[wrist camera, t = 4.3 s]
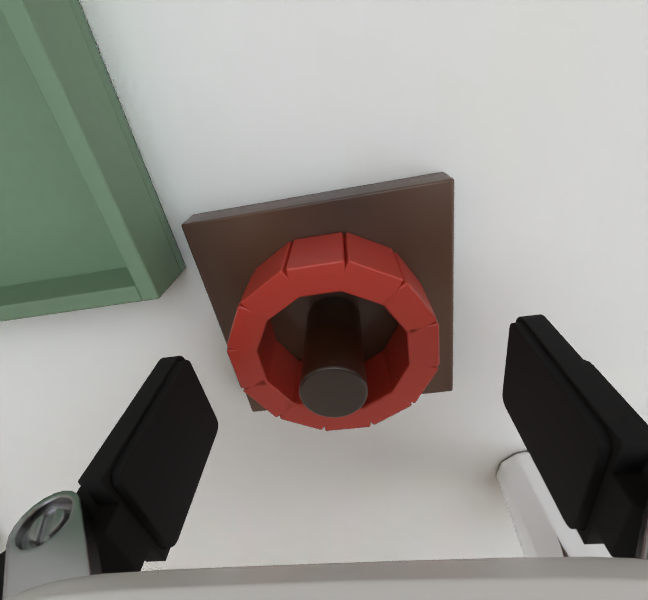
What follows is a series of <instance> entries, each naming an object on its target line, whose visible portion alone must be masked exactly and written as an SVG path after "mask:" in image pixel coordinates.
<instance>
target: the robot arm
mask: <svg viewBox="0 0 648 600" xmlns="http://www.w3.org/2000/svg"><path fill="white" fill-rule="evenodd" d="M503 401H504V405H505V407H506V409H507V411H508V413H509V415H510V417H511V419H512V421H513V423H514V425H515V426H516V428H517V430H518V432H519V434H520V436H521V438H522V440H523V442H524V444H525V446H526V448H527V450H528V452H529V454H530V456H531V458H532V459H533V461H534V463H535V465H536V467H537V469H538V471H539V473H540V475H541V477H542V479H543V481H544V483H545V485H546V487H547V489H548V490H549V492H550V494H551V496H552V498H553V500H554V502H555V504H556V506H557V508H558V510H559V512H560V514H561V516H562V518H563V520H564V521H565V523H566V525H567V526H568V527H569V528H570V529H576V530H577V532H578V534H579V535H580V537H581V539H582V541H583V543H584V545H586V544H604V545H605V547H606V548H607V550H608V552H609V554H610V555H611V556H612V557H614V558H612V557H525V558H483V559H450V560H417V561H385V562H356V563H328V564H300V565H273V566H248V567H223V568H199V569H175V570H155V571H141V568H142V566H143V563H144V561H146V562H149V561H166V558H167V556H168V553H169V550H170V548H171V547H173V546H174V545H175V544H176V543H177V540H178V538H179V535H180V533H181V530H182V527H183V524H184V522H185V519H186V516H187V513H188V511H189V508H190V505H191V502H192V500H193V497H194V494H195V491H196V489H197V486H198V483H199V480H200V478H201V475H202V472H203V469H204V467H205V464H206V461H207V458H208V456H209V453H210V450H211V447H212V445H213V442H214V439H215V436H216V434H217V430H218V421H217V418H216V416H215V414H214V412H213V410H212V407H211V405H210V403H209V401H208V399H207V397H206V395H205V392H204V390H203V388H202V386H201V384H200V382H199V380H198V377H197V375H196V373H195V371H194V369H193V367H192V365H191V363H190V361H188V360H185V359H184V358H183V357H182V356H175V357H166V358H162V359H160V360H159V362H158V363H157V365H156V366H155V368H154V369H153V371H152V372H151V374H150V375H149V376H148V378H147V379H146V381H145V382H144V384H143V385H142V387H141V388H140V390H139V391H138V393H137V394H136V396H135V397H134V399H133V400H132V402H131V403H130V405H129V406H128V408H127V409H126V411H125V412H124V414H123V415H122V417H121V418H120V420H119V421H118V423H117V424H116V426H115V427H114V429H113V430H112V431H111V433H110V434H109V436H108V437H107V439H106V440H105V442H104V443H103V445H102V446H101V448H100V449H99V451H98V452H97V454H96V455H95V457H94V458H93V460H92V461H91V463H90V464H89V466H88V467H87V469H86V470H85V472H84V473H83V475H82V476H81V478H80V479H79V481H78V483H79V484H80V485H81V487H80V488H79V490H78V491H77V493H75V492H73V491H62V492H58V493H54V494H52V495H50V496H48V497H46V498H44V499H43V500H41V501H40V502H38V503H37V504H36V505H34V506H33V507H32V508H31V509H30V510H28V511H27V512H26V513H25V514H24V515H23V516H22V517H21V519H20V520H19V521H18V522H17V523H16V525H15V526H14V528H13V530H12V531H11V533H10V535H9V537H8V541H7V545H6V550H5V551H4V552H3V553H1V554H0V600H648V425H647V423H646V422H645V421H644V420H643V419H642V418H641V417H640V416H639V415H638V414H637V412H636V411H635V410H634V409H633V408H632V407H631V406H630V405H629V404H628V403H627V402H626V400H625V399H624V398H623V397H622V396H621V395H620V394H619V393H618V392H617V391H616V389H615V388H614V387H613V386H612V385H611V384H610V383H609V382H608V381H607V380H606V379H605V377H604V376H603V375H602V374H601V373H600V372H599V371H598V370H597V369H596V368H595V366H594V365H592V364H591V363H590V362H589V361H586V360H583V359H582V358H581V356H580V355H579V354H578V353H577V352H576V351H575V350H574V349H573V348H572V346H571V345H570V344H569V343H568V342H567V341H566V340H565V339H564V337H563V336H562V335H561V334H560V333H559V332H558V331H557V330H556V329H555V327H554V326H553V325H552V324H551V323H550V322H549V321H548V320H547V318H546V317H545V316H543V315H532V316H523V317H518V318H517V320H516V323H511V325H510V328H509V338H508V347H507V357H506V366H505V375H504V385H503Z"/></svg>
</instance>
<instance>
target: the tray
mask: <svg viewBox="0 0 648 600" xmlns="http://www.w3.org/2000/svg"><path fill="white" fill-rule="evenodd" d="M184 269H185V264H184V262H183V259H182V257H181V255H180V252H179V250H178V247H177V245H176V242H175V240H174V237H173V235H172V232H171V230H170V227H169V225H168V222H167V220H166V217H165V215H164V212H163V210H162V207H161V205H160V202H159V200H158V197H157V195H156V192H155V190H154V187H153V185H152V182H151V180H150V177H149V175H148V172H147V170H146V167H145V165H144V162H143V160H142V158H141V155H140V153H139V150H138V148H137V145H136V143H135V140H134V138H133V135H132V133H131V130H130V128H129V125H128V123H127V120H126V118H125V115H124V113H123V110H122V108H121V105H120V103H119V100H118V98H117V95H116V93H115V90H114V88H113V85H112V83H111V80H110V78H109V75H108V73H107V70H106V68H105V66H104V63H103V61H102V58H101V56H100V53H99V51H98V48H97V46H96V43H95V41H94V38H93V36H92V33H91V31H90V28H89V26H88V23H87V21H86V18H85V16H84V13H83V11H82V8H81V6H80V3H79V1H78V0H0V321H7V320H14V319H21V318H28V317H34V316H41V315H48V314H55V313H62V312H69V311H76V310H82V309H89V308H96V307H103V306H110V305H117V304H124V303H131V302H137V301H142V300H144V301H145V300H152V299H158V298H160V297H161V296H162V294H163V293H164V292H165V291H166V290H167V289H168V287H169V286H170V285H171V284H172V283H173V282H174V281H175V279H176V278H177V277H178V276H179V275H180V274H181V272H182V271H183V270H184Z"/></svg>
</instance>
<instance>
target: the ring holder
mask: <svg viewBox="0 0 648 600" xmlns="http://www.w3.org/2000/svg"><path fill="white" fill-rule="evenodd" d="M182 228H183V231H184V234H185V236H186V239H187V241H188V244H189V247H190V249H191V252H192V255H193V257H194V260H195V262H196V265H197V268H198V270H199V273H200V275H201V278H202V281H203V283H204V286H205V288H206V291H207V294H208V296H209V299H210V301H211V304H212V307H213V309H214V312H215V314H216V317H217V320H218V322H219V325H220V327H221V330H222V333H223V335H224V338H225V340H226V343H227V342H228V339H229V335H230V332H231V328H232V325H233V321H234V318H235V314H236V311H237V307H238V305H239V303H240V301H241V298H242V296H243V294H244V292H245V290H246V287H247V285H248V283H249V281H250V279H251V276H252V274H253V273H254V272H255V270H256V268H257V267H259V266H260V265H261V264H262V263H263V262H265V261H266V260H267V259H268V258H270V257H271V256H272V255H273V254H274V253H276V252H277V251H278V250H279V249H281V248H282V247H283V246H284V245H285V244H287V243H288V242H291V243H292V244H293V241H294V240H295V239H301V238H307V237H313V236H320V235H326V234H332V233H339V232H341V233H343V237H344V236H345V234H346V233H347V232H348V233H351V234H353V235H356V236H359V237H362V238H364V239H367V240H370V241H373V242H375V243H378V244H381V245H384V246H386V247H389V248H391V249H392V251H393V253H394V252H396V253H397V254H398V255H399V256H400V258H401V259H402V260H403V261H404V263H405V264H406V265H407V267H408V268H409V269H410V270H411V272H412V273H413V274H414V275H415V277H416V278H417V279H418V281H419V282H420V283H421V285H422V287H423V289H424V292H425V294H426V296H427V298H428V300H429V303H430V305H431V307H432V309H433V311H434V314H435V316H436V319H437V321H438V324H439V356H440V363H439V365H438V366H437V367H438V371H437V372H436V373H435V375H434V376H433V378H432V379H431V381H430V382H429V384H428V385H427V386H426V388H425V389H424V391H423V392H422V394H426V393H436V392H445V391H452V389H453V252H454V179H453V178H451V177H450V176H449V175H447V174H446V173H444V172H440V173H434V174H428V175H423V176H417V177H411V178H405V179H399V180H393V181H388V182H382V183H376V184H370V185H364V186H358V187H352V188H347V189H341V190H335V191H329V192H323V193H317V194H312V195H306V196H300V197H294V198H288V199H282V200H276V201H271V202H265V203H259V204H253V205H247V206H241V207H236V208H230V209H224V210H218V211H212V212H206V213H200V214H195V215H193V216H191V217H190V218H189V219H188V220H187V221H185V222H184V223H183V224H182ZM270 319H271V323H272V326H273V330H274V333H275V336H276V340H277V341H278V342H279V343H280V344H281V345H283V346H284V347H285V348H286V349H287V350H288V351H289V352H290V353H291V354H292V355H293V356H295V357H296V358H297V359H298V360H299V361H302V368H301V376H300V384H299V396H300V398H301V401H302V402H303V404H304V405H305V407H307V408H308V409H309V410H310V411H312V412H313V413H315V414H317V415H320V416H324V417H331V418H336V417H344V416H347V415H350V414H352V413H354V412H356V411H357V410H359V409H360V408H361V407H362V406H363V404H364V403H365V401H366V399H367V396H368V385H367V376H366V367H365V361H366V360H368V359H370V358H371V357H373V356H375V355H376V354H378V353H380V352H381V351H383V350H384V349H385V347H386V345H387V344H388V342H389V340H390V338H391V337H392V335H393V333H394V331H395V330H396V328H397V326H398V322H397V321H396V319H395V318H394V317H393V316H392V315H391V314H390V313H389V311H388V310H387V309H386V308H385V307H384V306H383V305H381V304H378V303H375V302H372V301H369V300H366V299H363V298H360V297H357V296H354V295H351V294H348V293H345V292H342V291H339V292H332V293H325V294H318V295H310V296H303V297H299V298H298V299H296V300H295V301H294V302H292V303H291V304H289V305H288V306H287V307H285V308H284V309H283V310H281V311H280V312H279V313H277V314H276V315H275V316H273V317H272V318H270ZM246 395H247V398H248V400H249V403H250V406H251V408H252V411H253V412H255V411H265V410H266V409H265V408H264V407H263V406H261V405H260V404H259V403H258V402H256V401H255V400H254V399H253V398H251V397H250V396H249V395H248V394H246Z"/></svg>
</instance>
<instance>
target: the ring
mask: <svg viewBox="0 0 648 600" xmlns="http://www.w3.org/2000/svg"><path fill="white" fill-rule="evenodd" d="M339 291H342V292H345V293H348V294H351V295H354V296H357V297H360V298H363V299H366V300H369V301H372V302H375V303H378V304H381V305H383V306H384V307H385V308H386V309H387V310H388V311H389V313H390V314H391V315H392V316H393V317H394V318H395V319H396V321H397V322H398V326H397V328H396V330H395V331H394V333H393V335H392V337H391V338H390V340H389V342H388V344H387V345H386V347H385V349H384V350H383V351H381V352H380V353H378V354H376V355H375V356H373V357H371V358H370V359H368V360H366V361H365V367H366V376H367V385H368V396H367V399H366V401H365V403H364V404H363V406H362V407H361V408H360V409H359V410H357V411H356V412H354V413H352V414H350V415H347V416H344V417H336V418H331V417H324V416H320V415H317V414H315V413H313V412H312V411H310V410H309V409H308V408H307V407H305V405H304V404H303V402H302V401H301V398H300V396H299V384H300V376H301V368H302V361H299V360H298V359H297V358H296V357H295V356H293V355H292V354H291V353H290V352H289V351H288V350H287V349H286V348H285V347H284V346H283V345H281V344H280V343H279V342H278V341H277V340H276V336H275V333H274V330H273V326H272V323H271V319H270V318H272V317H273V316H275V315H276V314H277V313H279V312H280V311H281V310H283V309H284V308H285V307H287V306H288V305H289V304H291V303H292V302H294V301H295V300H296V299H298V298H299V297H303V296H310V295H318V294H325V293H332V292H339ZM227 347H228V349H227V353H228V355H229V358H230V360H231V363H232V365H233V368H234V371H235V373H236V376H237V378H238V381H239V383H240V386H241V388H244V392H245V393H246V394H248V395H249V396H250V397H251V398H253V399H254V400H255V401H256V402H258V403H259V404H260V405H261V406H263V407H264V408H265V409H266V410H268V411H269V412H270V413H271V414H273V415H274V416H275V417H278V416H279V415H280V418H281V419H283V420H287V421H291V422H294V423H298V424H302V425H305V426H309V427H313V428H316V429H320V430H321V429H323V427H324V426H325V430H326V431H330V430H341V429H351V428H361V427H370V422H371V423H372V424H377V423H379V422H381V421H383V420H385V419H386V418H388V417H390V416H392V415H394V414H396V413H398V412H400V411H402V410H404V409H406V408H407V407H409V406H411V402H413V403H415V402H416V401H417V399H418V398H419V396H420V395H421V394H422V392H423V391H424V389H425V388H426V386H427V385H428V384H429V382H430V381H431V379H432V378H433V376H434V375H435V373H436V372H437V371H438V367H437V366H438V365H439V363H440V356H439V324H438V321H437V319H436V316H435V314H434V311H433V309H432V307H431V305H430V303H429V300H428V298H427V296H426V294H425V292H424V289H423V287H422V285H421V283H420V282H419V281H418V279H417V278H416V277H415V275H414V274H413V273H412V272H411V270H410V269H409V268H408V267H407V265H406V264H405V263H404V261H403V260H402V259H401V258H400V256H399V255H398V254H397V253H396V252H394V253H393V251H392V249H391V248H389V247H386V246H384V245H381V244H378V243H375V242H373V241H370V240H367V239H364V238H362V237H359V236H356V235H353V234H351V233H348V232H347V233H346V234H345V236H344V237H343V233H341V232H339V233H332V234H326V235H320V236H313V237H307V238H301V239H295V240H294V241H293V244H292V243H291V242H288V243H287V244H285V245H284V246H283V247H282V248H281V249H279V250H278V251H277V252H276V253H274V254H273V255H272V256H271V257H270V258H268V259H267V260H266V261H265V262H263V263H262V264H261V265H260V266H259V267H257V268H256V270H255V272H254V273H253V274H252V276H251V279H250V281H249V283H248V285H247V287H246V290H245V292H244V294H243V296H242V298H241V301H240V303H239V305H238V307H237V311H236V314H235V318H234V321H233V325H232V328H231V332H230V335H229V339H228V342H227Z"/></svg>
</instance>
